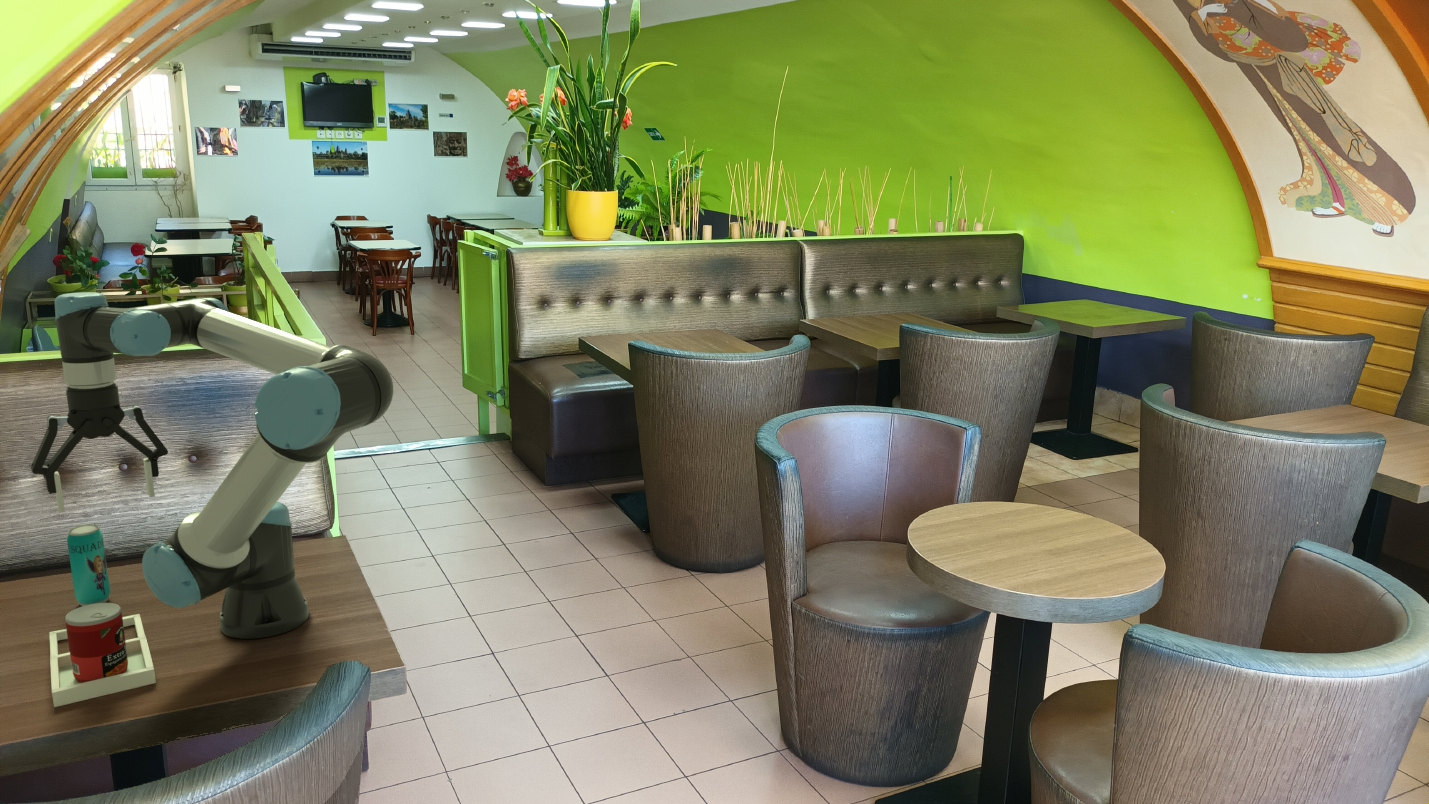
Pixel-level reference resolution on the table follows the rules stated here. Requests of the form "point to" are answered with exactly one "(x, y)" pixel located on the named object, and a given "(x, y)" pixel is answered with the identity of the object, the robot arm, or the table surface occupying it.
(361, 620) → the table surface
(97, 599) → the beverage can
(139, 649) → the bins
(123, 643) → the canned food
